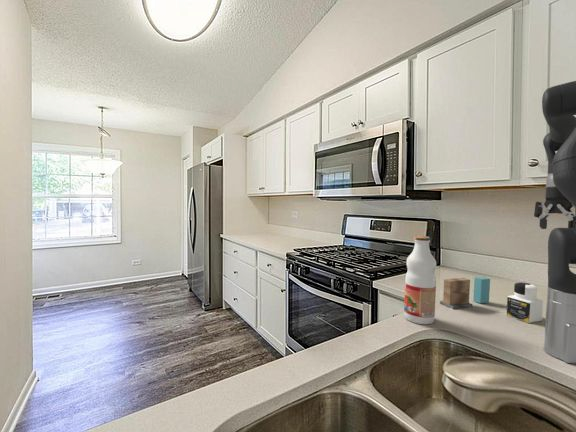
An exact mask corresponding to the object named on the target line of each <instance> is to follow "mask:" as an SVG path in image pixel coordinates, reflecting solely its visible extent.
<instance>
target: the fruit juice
mask: <svg viewBox="0 0 576 432" xmlns="http://www.w3.org/2000/svg"><path fill="white" fill-rule="evenodd" d="M413 241H414V246H413V250H412V252H411V253H410V254H409V255H408V256H407V257H406V263H405V264H406V268H407V270H406V271H407V272H406V274H405V280H404V302H403V303H404V306H403V316H404V318H405V319H406V321H409V322H411V323H414V324H417V325H431V324H433V323H434V322H435V319H436V317H435V315H436V291H437V277H436V274H435V272H436V269H437V260H436V259H435V257H434V256H433V255H432V253H431V249H430V242H431V237H430V236H425V235H415V236H414V237H413Z"/></svg>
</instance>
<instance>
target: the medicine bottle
mask: <svg viewBox="0 0 576 432" xmlns="http://www.w3.org/2000/svg"><path fill="white" fill-rule="evenodd" d="M513 287H514V289H513V293H514V294H512V295H508V296H507V298H506V299H507V300H506V316H507V317H510V318H512V319H515V320H518V321H521V322H525V323H527V324H531V323H537V322H541V321H543V307H544V300H543V299H539V298H537V296H538V294H537V293H538V287H537V286H536V285H534V284H531V283H527V282H516V283H515V284H514V286H513Z"/></svg>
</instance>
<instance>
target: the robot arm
mask: <svg viewBox="0 0 576 432" xmlns="http://www.w3.org/2000/svg"><path fill="white" fill-rule="evenodd" d="M542 94H543V95H542V98H541V109H542V115H543V117H544V120H545V122H546V124H547V125H548V129H549V130H548V131H549V132H548V133H547V134H545V136H544V137H543V140H542V145H543V148H544V151H545V154H546V157H547V174H546V175H547V176H546V180H545V181H546V182H545V194H544V195H545V197H544V198H545V201H544V202H543V201H536V202H535V206H534V213H533V216H534V217H535V218H538V219H539V227H540V229H541V230H546V229H547V228H548V226H547V225H548V219H547V218H549V217H550V216H551V215H552V214H557V215H558V214H559V215H560V214H561V215H562V214H563V215H564V216H565V217H566V218H567V219H568V222H567V227H556V228H555V227H554V228H553V229H551V231H550V233H549V235H548V241H547V295H546V296H547V297H546V307H545V326H544V343H543V350H544V351H545V352H546V353H547V354H549V356H552V357H554V358H557V359H559V360H561V361H563V362H565V363H566V364H576V273H575V272H572V271H571V269H570V265H576V80H573V81H569V82H565V83H561V84H557V85H553V86H550V87H549V88H547V89H545V91H544V92H543V93H542ZM543 208H545V209H544V210H543ZM572 208H574V210H575V212H574V210H572Z"/></svg>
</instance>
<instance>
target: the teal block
mask: <svg viewBox="0 0 576 432" xmlns="http://www.w3.org/2000/svg"><path fill="white" fill-rule="evenodd" d="M473 280H474V283H473V298H472V299H473V302H476V303H478V304H486V303H488V304H489V303H490V292H491V291H490V285H491V278H488V277H485V276H476V277H474V279H473Z"/></svg>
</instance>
